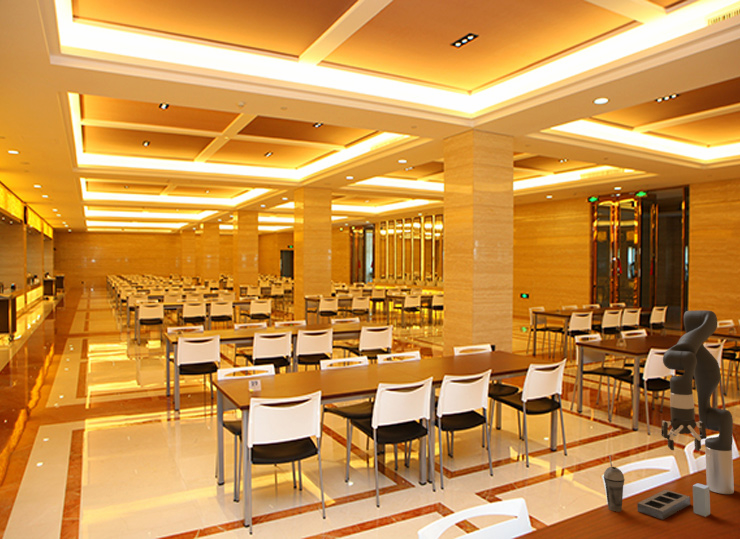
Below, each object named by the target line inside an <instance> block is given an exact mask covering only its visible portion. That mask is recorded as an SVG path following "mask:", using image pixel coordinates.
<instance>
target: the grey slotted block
mask: <svg viewBox="0 0 740 539" xmlns="http://www.w3.org/2000/svg"><path fill="white" fill-rule="evenodd" d="M688 506H691V496H689V495H686V494H682V493H679V492H676V491H673V490H669V489H663V490H662V491H660V492H657V493H655V494H653V495H651V496H649V497H647V498H645V499H643V500H640V501H639V502H637V512H639V513H641V514H645V515H648V516H651V517H653V518H656V519H659V520H665V519H666V518H668V517H670V516H672V515H674V514H676V513H678V512H679V510H680V511H682V510H683V509H685V508H686V507H688ZM677 511H678V512H677Z"/></svg>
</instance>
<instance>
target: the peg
mask: <svg viewBox="0 0 740 539" xmlns="http://www.w3.org/2000/svg"><path fill="white" fill-rule="evenodd" d="M710 499H711V496H710V490H709V486H707V484H702V483H698V482H697V483H695V484H693V485H692V504H693V505H692V506H693V514H696V515H699V516H701V517H705V518H706V517H708V516H710V515H711V500H710Z"/></svg>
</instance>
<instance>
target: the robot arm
mask: <svg viewBox="0 0 740 539" xmlns="http://www.w3.org/2000/svg"><path fill="white" fill-rule="evenodd" d="M717 317H718V316H717V314H716V313H715V312H714V311H712V310H704V309H703V310H701V309H700V310H686V311H685V312H684V314H683V326H684V330H685V333H684V334H683V335H682V336H681V337H680V338H679V340H678V341H677V343H676V344H674V345H673V346H671V347H669V348H668V349H667V350H665V352H664V354H663V355H662V363H663V365H664V367H666V369H669V370H673V371H674V370H676V371H684V373H683V374H682V375H674V376H672V377H670V378H669V388H670V389H669V390H670V391H669V393H670V396H669V404H670V420H669V421H667V420H661V431H660V433H661V434H660V435H661V437H663V438H664V439H667V447H668V448H669V449H670V451H675V442H674V438H676V436H678V434H679V435H683V434H686V435H690V434H691V435H692V437H694V449H695V451H697V452H699V451H700V450H701V449H702V440H704V444H705V445H704V448H705V449H704V450H705V451H704V453H705V474H706V476H705V477H706V486H709V492H710V491H711V492H714V493H716V494H717V493H718V494H723V495H732V494H734V492H735V487H734V486H735V485H734V464H733V463H734V462H733V460H734V459H733V440H734V439H733V438H734V436H733V426H734V423H733V422H734V420H733V415H732V413H731V412H730V410H727V409H722V408H718V407H712V406H711V405H712V404H711V397H712V395H713V393H714V391H716V389H717V387H718V386H719V383H720V381H721V378H722V377H721V372H720V366H719V362H718V360H717V359H716V357H715V356H714V354H712V353H711V352H710V351H709V350H708V348H706V346H704V344H703V343H705V341H706V340H708V339H709V338H710V337H711V336H712V335H713V334H714V333H715V332H716V330H717V328H718V318H717ZM693 380H694V383H695V389H696V394H697V395H696V396H697V407H698V411H697V412H698V418H699V420H698V421H695V414H696V412H695V400H694V393H693ZM670 426H671V428H670ZM696 427H697V428H698V430H699V431H698V432H699V434H698V433H697V432H696V430H695V428H696ZM669 428H670V430H669V433H668V429H669ZM707 430H710V431H715V432H718V433H719V434H718V436H715V437H708V438H707Z"/></svg>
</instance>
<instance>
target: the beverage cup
mask: <svg viewBox="0 0 740 539" xmlns="http://www.w3.org/2000/svg"><path fill="white" fill-rule="evenodd" d="M608 457H609V463H610V467H607V468H606V469H605V470H604V473H603V480H604V483H605V493H606V500H607V502H606V503H607V507H608V510H609V511H612V512H615V511H616V512H618V513H620V512H622V509H623V496H624V486H625V476H624V474H623V472H622V470H621V469H619V468H618V467H616V466H613V462H612V456H611V455H610V454H609V456H608Z"/></svg>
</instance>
